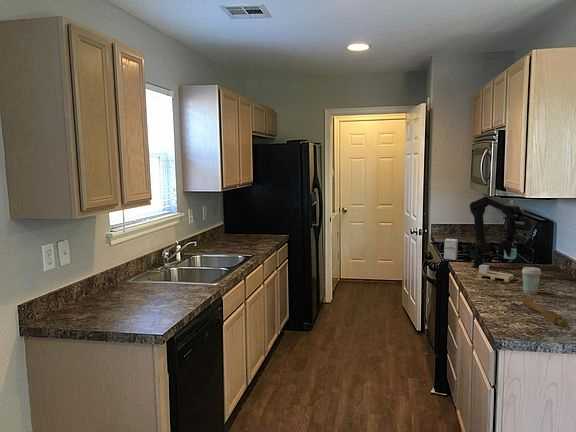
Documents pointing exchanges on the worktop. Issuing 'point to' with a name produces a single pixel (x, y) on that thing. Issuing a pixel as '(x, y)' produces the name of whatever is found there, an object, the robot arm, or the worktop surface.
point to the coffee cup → (531, 279)
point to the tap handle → (545, 313)
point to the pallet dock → (497, 275)
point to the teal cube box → (512, 255)
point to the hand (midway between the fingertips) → (510, 256)
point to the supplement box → (450, 249)
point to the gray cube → (484, 269)
